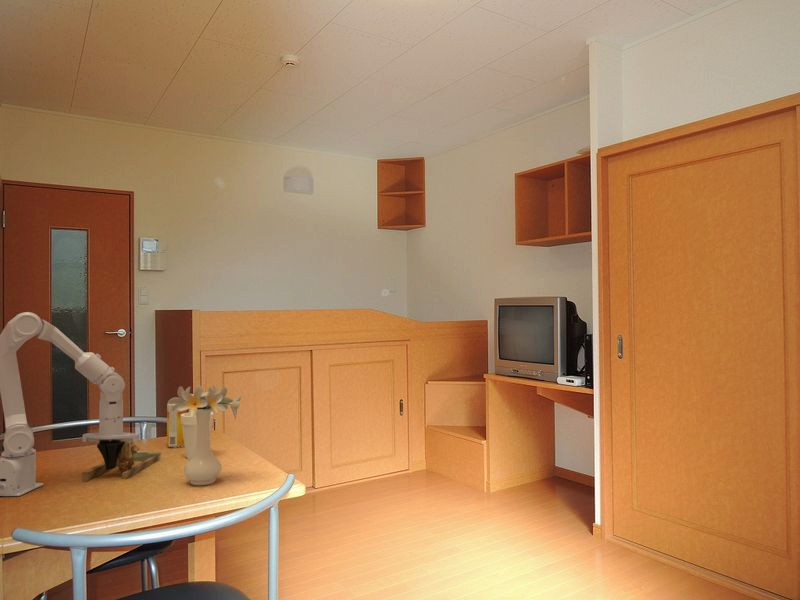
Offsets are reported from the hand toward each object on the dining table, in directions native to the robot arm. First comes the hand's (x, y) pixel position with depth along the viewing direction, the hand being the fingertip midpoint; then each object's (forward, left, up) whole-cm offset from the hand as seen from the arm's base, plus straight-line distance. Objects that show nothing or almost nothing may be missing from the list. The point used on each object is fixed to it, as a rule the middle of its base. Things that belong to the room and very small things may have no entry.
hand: (110, 468), depth 157 cm
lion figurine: (+8, 0, -2) cm, 9 cm away
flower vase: (-4, -27, -2) cm, 27 cm away
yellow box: (+36, -3, -2) cm, 36 cm away
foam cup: (+22, -15, -2) cm, 27 cm away
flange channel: (+7, 0, -2) cm, 7 cm away
